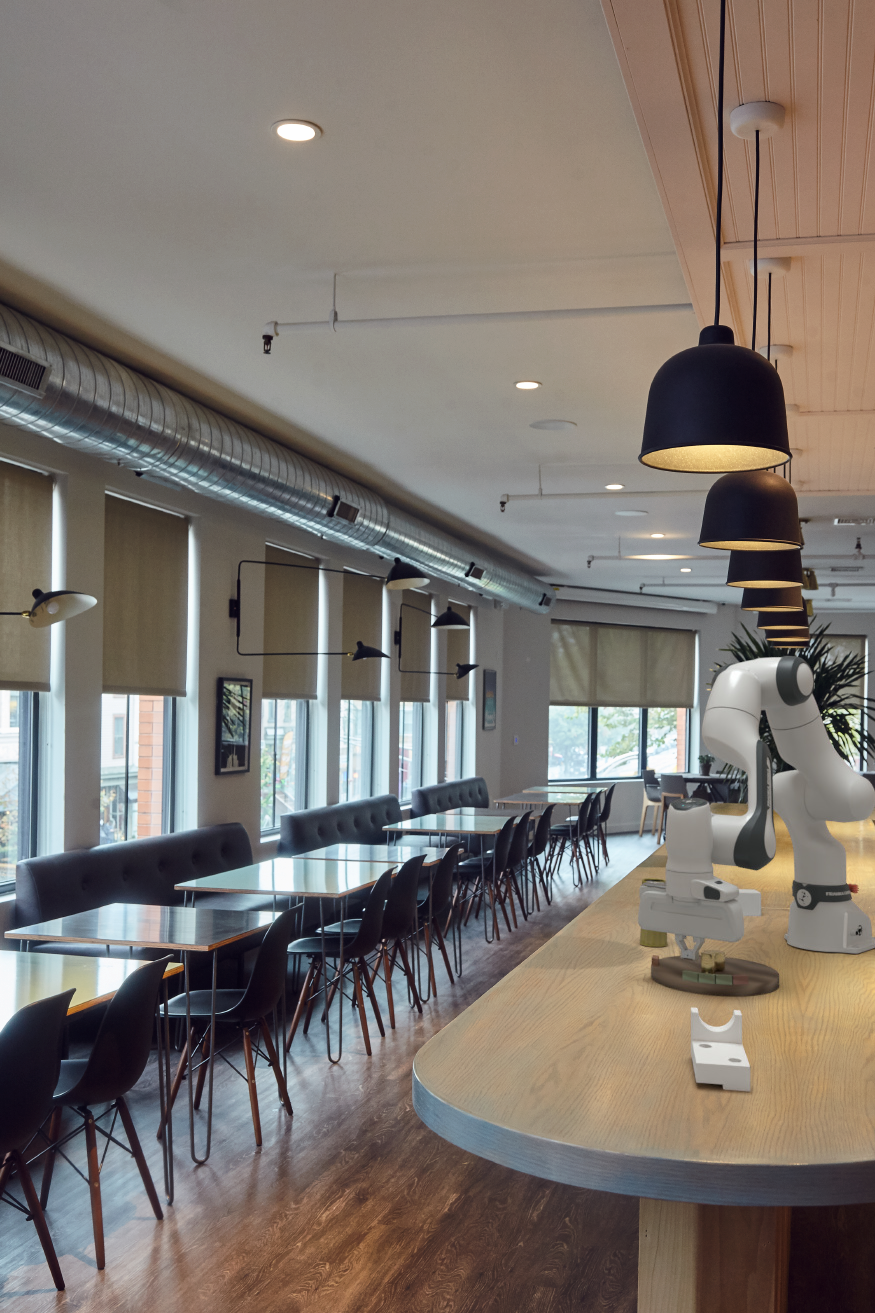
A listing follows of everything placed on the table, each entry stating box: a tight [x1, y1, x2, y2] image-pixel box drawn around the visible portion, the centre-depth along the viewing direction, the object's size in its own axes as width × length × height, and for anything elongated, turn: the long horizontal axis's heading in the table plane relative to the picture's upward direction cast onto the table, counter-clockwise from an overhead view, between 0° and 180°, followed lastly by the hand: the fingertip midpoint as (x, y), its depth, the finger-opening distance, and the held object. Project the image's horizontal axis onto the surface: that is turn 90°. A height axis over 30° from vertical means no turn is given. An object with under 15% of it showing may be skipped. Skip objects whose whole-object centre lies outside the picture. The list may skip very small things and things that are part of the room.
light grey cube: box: [735, 888, 762, 917], centre depth 274 cm, size 6×6×6 cm
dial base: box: [650, 954, 780, 997], centre depth 203 cm, size 24×24×4 cm
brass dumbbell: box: [700, 949, 726, 974], centre depth 199 cm, size 12×4×4 cm, turn 157°
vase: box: [639, 877, 668, 948], centre depth 235 cm, size 6×6×14 cm
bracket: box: [690, 1007, 751, 1092], centre depth 149 cm, size 13×7×8 cm, turn 170°
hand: (689, 959), depth 198 cm, fingers closed
